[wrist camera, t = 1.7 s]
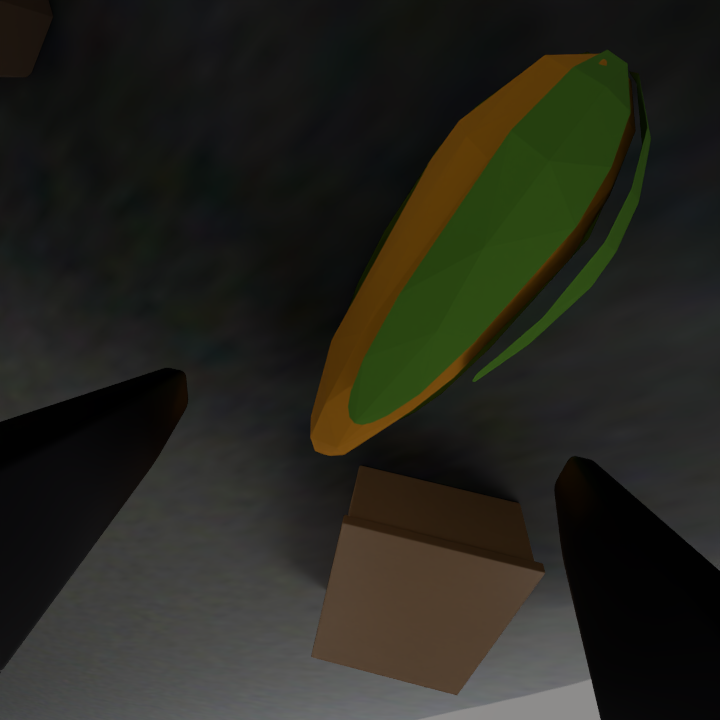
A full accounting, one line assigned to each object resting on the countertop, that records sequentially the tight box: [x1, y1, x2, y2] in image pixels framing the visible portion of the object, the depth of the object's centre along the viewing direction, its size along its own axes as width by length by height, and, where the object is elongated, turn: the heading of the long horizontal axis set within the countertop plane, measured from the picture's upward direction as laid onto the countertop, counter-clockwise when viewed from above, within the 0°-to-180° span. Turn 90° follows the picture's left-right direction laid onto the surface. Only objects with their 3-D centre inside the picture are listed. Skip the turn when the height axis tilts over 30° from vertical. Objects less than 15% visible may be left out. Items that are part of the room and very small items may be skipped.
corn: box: [310, 50, 651, 456], centre depth 17 cm, size 7×8×20 cm
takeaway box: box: [311, 465, 545, 695], centre depth 28 cm, size 17×12×5 cm
